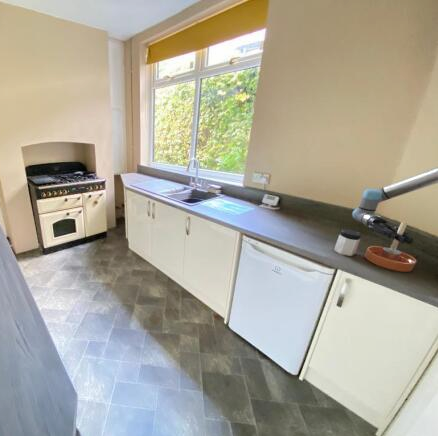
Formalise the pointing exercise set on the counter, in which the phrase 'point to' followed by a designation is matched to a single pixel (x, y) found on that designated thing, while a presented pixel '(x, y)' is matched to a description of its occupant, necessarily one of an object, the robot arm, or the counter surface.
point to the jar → (347, 242)
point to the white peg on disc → (394, 245)
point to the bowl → (400, 264)
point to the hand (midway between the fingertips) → (407, 240)
